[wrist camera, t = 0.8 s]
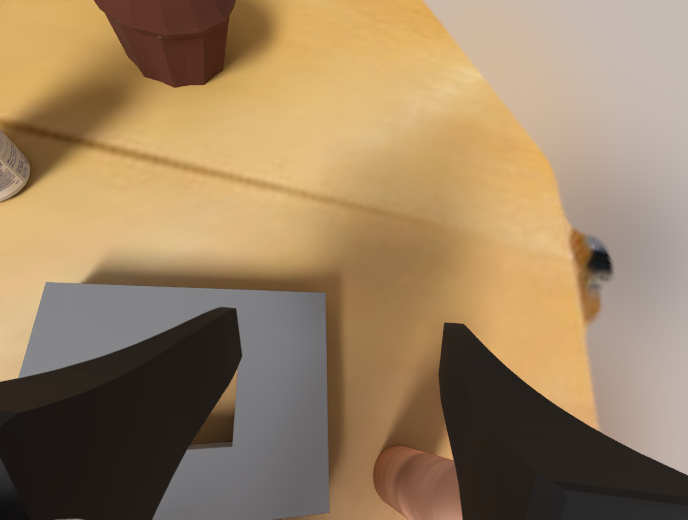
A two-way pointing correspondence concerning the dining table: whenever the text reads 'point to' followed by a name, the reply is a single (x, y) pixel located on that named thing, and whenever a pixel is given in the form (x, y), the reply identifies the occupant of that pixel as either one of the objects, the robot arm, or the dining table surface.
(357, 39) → the dining table surface
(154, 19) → the muffin
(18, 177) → the energy drink
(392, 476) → the terracotta peg
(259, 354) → the grey flat holed block
